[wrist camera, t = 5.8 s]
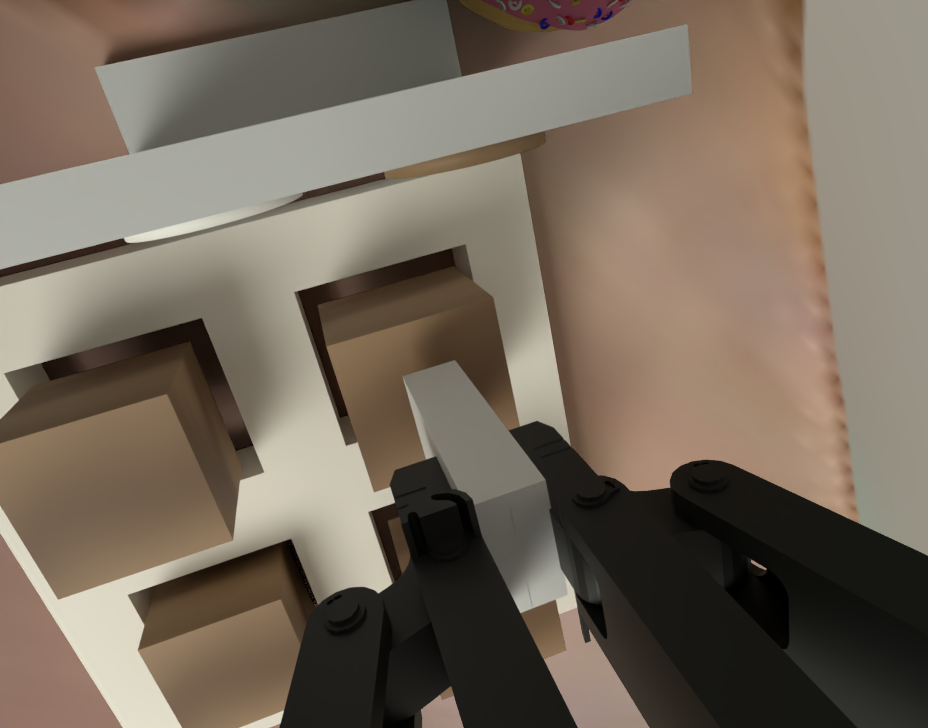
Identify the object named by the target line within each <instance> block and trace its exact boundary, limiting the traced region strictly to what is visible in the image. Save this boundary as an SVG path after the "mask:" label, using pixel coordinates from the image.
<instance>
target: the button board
mask: <svg viewBox="0 0 928 728" xmlns="http://www.w3.org/2000/svg"><path fill="white" fill-rule="evenodd" d="M450 248H452V252H453V256H454V261H455V265H456V268H457V269H458V270H459V271H461V272H462V273H463V274H464V275H466V276H467V277H468V278H470V279H471V280H472V281H473V282H475V283H476V284H477V285H478V286H480V287H481V288H482V289H484V290H485V291H486V292H487V293H489V294H490V295H491V296H492V297H493V298H494V303H495V308H496V313H497V318H498V322H499V327H500V332H501V337H502V342H503V347H504V351H505V356H506V361H507V366H508V371H509V376H510V380H511V385H512V390H513V395H514V400H515V405H516V409H517V414H518V419H519V424H520V426H523V425H526V424H529V423H532V422H535V421H539V422H541V423H544V424H546V425H549V426H551V427H554V428H555V429H556V431H557V432H558V433H559V434H560V435H561V436H562V437H563V439H564V440H566V441H567V443H568V444H569V445H570V439H569V433H568V427H567V421H566V416H565V410H564V404H563V398H562V392H561V387H560V381H559V375H558V369H557V363H556V358H555V352H554V346H553V340H552V334H551V329H550V323H549V317H548V311H547V305H546V300H545V294H544V288H543V282H542V276H541V271H540V265H539V259H538V253H537V247H536V242H535V236H534V230H533V224H532V218H531V213H530V207H529V201H528V195H527V189H526V184H525V178H524V172H523V166H522V160H521V155H520V153H519V154H516V155H513V156H509V157H506V158H503V159H499V160H495V161H491V162H488V163H484V164H480V165H476V166H471V167H467V168H463V169H458V170H453V171H448V172H444V173H438V174H433V175H427V176H421V177H414V178H406V179H382V180H379V181H375V182H371V183H367V184H363V185H359V186H355V187H351V188H347V189H343V190H339V191H336V192H332V193H328V194H324V195H320V196H316V197H312V198H308V199H304V200H300V201H297V202H293V203H289V204H285V205H282V206H280V207H277V208H274V209H271V210H268V211H265V212H262V213H259V214H256V215H253V216H250V217H247V218H243V219H240V220H236V221H233V222H229V223H226V224H222V225H218V226H215V227H211V228H207V229H203V230H199V231H195V232H191V233H186V234H182V235H177V236H173V237H168V238H163V239H158V240H152V241H145V242H137V243H133V244H129V245H125V246H121V247H117V248H113V249H109V250H105V251H101V252H97V253H93V254H90V255H86V256H82V257H78V258H74V259H70V260H66V261H62V262H58V263H54V264H51V265H47V266H43V267H39V268H35V269H31V270H27V271H23V272H19V273H15V274H12V275H8V276H4V277H0V419H1V418H2V417H3V416H4V415H5V414H6V413H7V412H8V411H9V410H10V409H11V408H12V407H13V406H14V405H15V404H16V403H17V402H18V401H19V400H20V399H21V397H22V396H23V395H24V394H25V393H26V392H27V391H28V390H29V389H30V388H31V387H32V386H34V385H38V384H41V383H45V382H48V381H50V379H49V378H48V376H47V374H46V372H45V370H44V368H43V366H42V364H41V363H43V362H46V361H50V360H53V359H57V358H60V357H64V356H68V355H71V354H75V353H78V352H82V351H85V350H89V349H93V348H96V347H100V346H103V345H107V344H110V343H114V342H118V341H121V340H125V339H128V338H132V337H135V336H139V335H143V334H146V333H150V332H153V331H157V330H161V329H164V328H168V327H171V326H175V325H178V324H182V323H186V322H189V321H193V320H196V319H200V318H202V319H203V322H204V324H205V327H206V329H207V332H208V334H209V337H210V339H211V342H212V344H213V347H214V349H215V352H216V354H217V356H218V359H219V361H220V364H221V366H222V369H223V371H224V374H225V376H226V379H227V381H228V384H229V386H230V389H231V391H232V394H233V396H234V398H235V401H236V403H237V406H238V408H239V411H240V413H241V416H242V418H243V421H244V423H245V426H246V428H247V431H248V433H249V436H250V438H251V440H252V443H253V445H254V446H250V447H247V448H244V449H241V450H238V451H236V453H237V455H238V458H239V460H240V462H241V465H242V468H241V476H240V485H239V493H238V502H237V511H236V519H235V528H234V536H233V541H230V542H227V543H224V544H221V545H218V546H215V547H212V548H209V549H206V550H203V551H200V552H198V553H195V554H192V555H189V556H186V557H183V558H180V559H177V560H174V561H171V562H168V563H165V564H162V565H159V566H156V567H153V568H150V569H147V570H144V571H142V572H139V573H136V574H133V575H130V576H127V577H124V578H121V579H118V580H115V581H112V582H109V583H106V584H103V585H100V586H97V587H94V588H91V589H88V590H86V591H83V592H80V593H77V594H74V595H71V596H68V597H65V598H62V599H59V600H58V599H57V597H56V595H55V594H54V592H53V591H52V589H51V587H50V586H49V584H48V582H47V581H46V579H45V578H44V576H43V574H42V573H41V571H40V570H39V568H38V566H37V565H36V563H35V561H34V560H33V558H32V557H31V555H30V553H29V552H28V550H27V548H26V547H25V545H24V544H23V542H22V540H21V539H20V537H19V536H18V534H17V532H16V531H15V529H14V527H13V526H12V524H11V523H10V521H9V519H8V518H7V516H6V514H5V513H4V511H3V510H2V508H1V506H0V533H1V535H2V537H3V538H4V540H5V541H6V543H7V545H8V546H9V548H10V549H11V551H12V552H13V554H14V556H15V557H16V559H17V560H18V562H19V564H20V565H21V567H22V568H23V570H24V572H25V573H26V575H27V576H28V578H29V579H30V581H31V583H32V584H33V586H34V587H35V589H36V591H37V592H38V594H39V595H40V597H41V598H42V600H43V602H44V603H45V605H46V606H47V608H48V610H49V611H50V613H51V614H52V616H53V618H54V619H55V621H56V622H57V624H58V625H59V627H60V629H61V630H62V632H63V633H64V635H65V637H66V638H67V640H68V641H69V643H70V644H71V646H72V648H73V649H74V651H75V652H76V654H77V656H78V657H79V659H80V660H81V662H82V664H83V665H84V667H85V668H86V670H87V671H88V673H89V675H90V676H91V678H92V679H93V681H94V683H95V684H96V686H97V687H98V689H99V690H100V692H101V694H102V695H103V697H104V698H105V700H106V702H107V703H108V705H109V706H110V708H111V710H112V711H113V713H114V714H115V716H116V717H117V719H118V721H119V722H120V724H121V725H122V727H123V728H182V727H181V725H180V723H179V722H178V720H177V718H176V716H175V715H174V713H173V711H172V710H171V708H170V706H169V704H168V703H167V701H166V699H165V697H164V696H163V694H162V692H161V690H160V689H159V687H158V685H157V683H156V682H155V680H154V678H153V677H152V675H151V673H150V671H149V670H148V668H147V666H146V664H145V663H144V661H143V659H142V657H141V656H140V654H139V652H138V647H139V644H140V640H141V636H142V633H143V629H144V625H145V622H146V618H147V615H148V611H149V607H150V604H151V600H152V596H153V593H154V589H155V586H156V585H158V584H161V583H163V582H166V581H169V580H172V579H175V578H178V577H181V576H184V575H187V574H190V573H193V572H195V571H198V570H201V569H204V568H207V567H210V566H213V565H216V564H219V563H222V562H224V561H227V560H230V559H233V558H236V557H239V556H242V555H245V554H248V553H251V552H254V551H256V550H259V549H262V548H265V547H268V546H271V545H274V544H277V543H280V542H283V541H286V540H288V539H292V542H293V544H294V547H295V549H296V552H297V554H298V557H299V559H300V562H301V564H302V567H303V569H304V571H305V574H306V576H307V579H308V581H309V584H310V586H311V589H312V591H313V594H314V596H315V599H316V601H317V604H318V605H319V604H320V603H321V602H322V601H323V600H324V599H326V598H327V597H329V596H331V595H332V594H334V593H335V592H338V591H341V590H344V589H347V588H350V587H366V588H370V589H373V590H375V591H376V592H377V593H380V592H381V591H383V590H384V589H386V588H387V587H389V586H390V585H391V584H393V583H394V582H395V581H394V578H393V575H392V572H391V569H390V566H389V563H388V560H387V557H386V554H385V551H384V548H383V545H382V542H381V539H380V536H379V533H378V530H377V527H376V524H375V521H374V518H373V515H372V512H371V511H373V510H376V509H379V508H381V507H384V506H387V505H390V504H393V503H395V501H394V497H393V494H392V491H391V488H390V487H389V488H386V489H383V490H380V491H377V492H374V491H373V488H372V485H371V482H370V479H369V476H368V473H367V469H366V466H365V463H364V460H363V457H362V454H361V451H360V448H359V445H358V442H357V439H356V436H355V433H354V430H353V427H352V424H351V421H350V418H349V415H348V416H345V417H342V418H340V416H339V413H338V410H337V407H336V404H335V401H334V398H333V395H332V392H331V389H330V386H329V383H328V380H327V377H326V374H325V371H324V368H323V365H322V362H321V359H320V356H319V353H318V350H317V347H316V345H315V342H314V339H313V336H312V333H311V330H310V327H309V324H308V321H307V318H306V315H305V312H304V309H303V306H302V303H301V300H300V297H299V294H298V291H300V290H304V289H307V288H311V287H314V286H318V285H321V284H325V283H329V282H332V281H336V280H339V279H343V278H346V277H350V276H354V275H357V274H361V273H364V272H368V271H371V270H375V269H379V268H382V267H386V266H389V265H393V264H396V263H400V262H404V261H407V260H411V259H414V258H418V257H422V256H425V255H429V254H432V253H436V252H439V251H443V250H447V249H450ZM570 446H571V445H570ZM564 576H565V575H564ZM565 581H566V586H567V592H568V595H566V596H563V597H561V598H558V599H556V603H557V608H558V613H559V614H561V613H564V612H566V611H569V610H571V609H574V608H576V607H577V603H576V598H575V592H574V589H573V587H572V586H571V584H570V582H569V581H568V579H567V578H566V576H565ZM283 712H284V711H281V712H279V713H276V714H273V715H271V716H268V717H266V718H263V719H261V720H258V721H255V722H253V723H250V724H248V725H245V726H243V727H240V728H270V727H272V726H275V725H277V724H280V723H281V720H282V716H283Z"/></svg>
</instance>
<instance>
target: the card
mask: <svg viewBox="0 0 928 728" xmlns="http://www.w3.org/2000/svg"><path fill="white" fill-rule="evenodd" d="M94 68H95V70H96V73H97V75H98V78H99V80H100V83H101V85H102V87H103V90H104V92H105V95H106V97H107V100H108V102H109V105H110V107H111V110H112V112H113V114H114V117H115V119H116V122H117V124H118V127H119V129H120V132H121V134H122V136H123V139H124V141H125V144H126V146H127V149H128V151H129V155H124V156H120V157H116V158H112V159H107V160H103V161H99V162H94V163H90V164H86V165H82V166H77V167H73V168H69V169H64V170H60V171H56V172H52V173H47V174H43V175H39V176H34V177H30V178H26V179H22V180H17V181H13V182H9V183H4V184H0V269H3V268H7V267H11V266H15V265H19V264H23V263H27V262H31V261H35V260H39V259H43V258H47V257H51V256H55V255H59V254H62V253H66V252H70V251H74V250H78V249H82V248H86V247H90V246H94V245H98V244H102V243H106V242H110V241H114V240H118V239H121V238H124V239H125V241H126V242H127V243H137V242H145V241H152V240H158V239H163V238H168V237H173V236H177V235H182V234H186V233H191V232H195V231H199V230H203V229H207V228H211V227H215V226H218V225H222V224H226V223H229V222H233V221H236V220H240V219H243V218H247V217H250V216H253V215H256V214H259V213H262V212H265V211H268V210H271V209H274V208H277V207H280V206H282V205H285V204H287V203H290V202H292V201H294V200H296V199H298V198H300V197H301V196H302V195H303V193H302V192H306V191H310V190H314V189H318V188H322V187H326V186H330V185H334V184H338V183H342V182H346V181H350V180H354V179H358V178H362V177H365V176H369V175H373V174H377V173H381V172H384V174H385V178H386V179H406V178H414V177H421V176H427V175H433V174H438V173H444V172H448V171H453V170H458V169H463V168H467V167H471V166H476V165H480V164H484V163H488V162H491V161H495V160H499V159H503V158H506V157H509V156H513V155H516V154H519V153H522V152H525V151H528V150H531V149H533V148H536V147H538V146H540V145H542V144H544V143H545V141H546V140H545V134H544V131H546V130H550V129H554V128H558V127H562V126H566V125H570V124H574V123H578V122H582V121H586V120H590V119H594V118H598V117H602V116H605V115H609V114H613V113H617V112H621V111H625V110H629V109H633V108H637V107H641V106H645V105H649V104H653V103H657V102H661V101H664V100H668V99H672V98H676V97H680V96H684V95H688V94H692V83H691V68H690V53H689V38H688V24H685V25H681V26H677V27H673V28H668V29H664V30H660V31H655V32H651V33H647V34H643V35H638V36H634V37H630V38H625V39H621V40H617V41H613V42H608V43H604V44H600V45H596V46H591V47H587V48H583V49H578V50H574V51H570V52H566V53H561V54H557V55H553V56H548V57H544V58H540V59H536V60H531V61H527V62H523V63H518V64H514V65H510V66H506V67H501V68H497V69H493V70H488V71H484V72H480V73H476V74H471V75H467V76H463V77H462V75H461V70H460V65H459V60H458V55H457V50H456V45H455V40H454V35H453V30H452V25H451V20H450V15H449V10H448V5H447V0H413V1H409V2H404V3H399V4H394V5H389V6H385V7H380V8H375V9H370V10H366V11H361V12H356V13H351V14H347V15H342V16H337V17H332V18H327V19H323V20H318V21H313V22H308V23H304V24H299V25H294V26H289V27H285V28H280V29H275V30H270V31H266V32H261V33H256V34H251V35H246V36H242V37H237V38H232V39H227V40H223V41H218V42H213V43H208V44H204V45H199V46H194V47H189V48H185V49H180V50H175V51H170V52H165V53H161V54H156V55H151V56H146V57H142V58H137V59H132V60H127V61H123V62H118V63H113V64H108V65H103V66H99V67H94Z"/></svg>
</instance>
